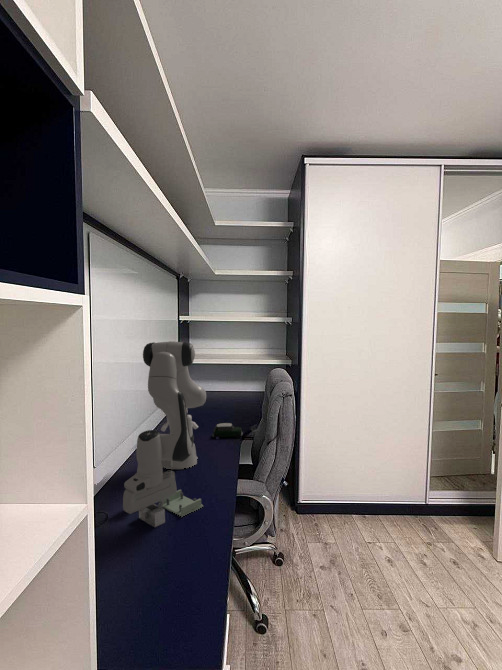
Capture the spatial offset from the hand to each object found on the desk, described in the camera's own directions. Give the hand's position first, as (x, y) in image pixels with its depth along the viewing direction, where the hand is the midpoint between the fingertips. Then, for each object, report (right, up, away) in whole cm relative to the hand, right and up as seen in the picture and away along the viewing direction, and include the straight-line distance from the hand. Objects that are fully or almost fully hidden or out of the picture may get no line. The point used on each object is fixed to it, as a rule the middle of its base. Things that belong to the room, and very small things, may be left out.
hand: (151, 515), depth 139 cm
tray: (+9, -1, +10) cm, 13 cm away
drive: (0, -2, 0) cm, 2 cm away
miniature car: (+21, +3, +96) cm, 98 cm away
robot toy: (-6, +2, +89) cm, 89 cm away
